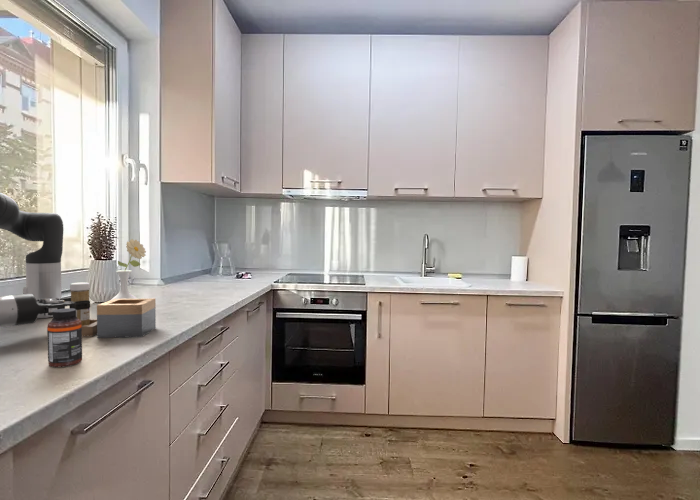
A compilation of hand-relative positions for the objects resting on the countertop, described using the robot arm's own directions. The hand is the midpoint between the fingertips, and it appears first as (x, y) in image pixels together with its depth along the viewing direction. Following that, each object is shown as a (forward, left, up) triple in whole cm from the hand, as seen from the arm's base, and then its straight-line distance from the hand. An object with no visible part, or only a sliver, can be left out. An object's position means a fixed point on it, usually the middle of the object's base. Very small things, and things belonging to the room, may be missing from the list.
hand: (82, 302), depth 117 cm
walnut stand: (0, 0, -8) cm, 8 cm away
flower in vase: (-1, +35, -8) cm, 36 cm away
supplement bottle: (+11, -30, -8) cm, 33 cm away
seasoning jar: (0, 0, -8) cm, 8 cm away
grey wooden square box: (+13, -2, -8) cm, 15 cm away
